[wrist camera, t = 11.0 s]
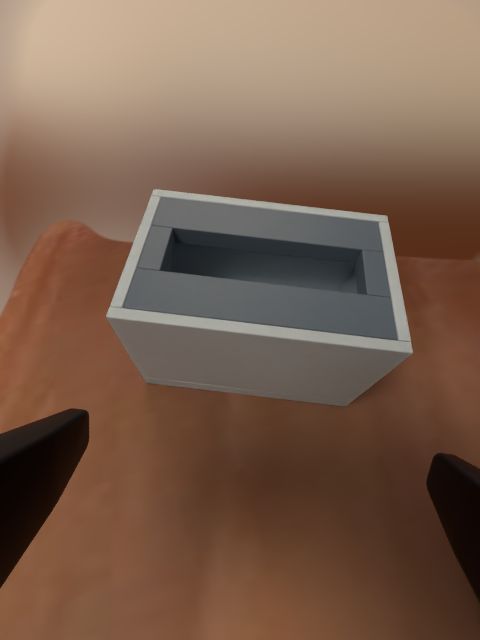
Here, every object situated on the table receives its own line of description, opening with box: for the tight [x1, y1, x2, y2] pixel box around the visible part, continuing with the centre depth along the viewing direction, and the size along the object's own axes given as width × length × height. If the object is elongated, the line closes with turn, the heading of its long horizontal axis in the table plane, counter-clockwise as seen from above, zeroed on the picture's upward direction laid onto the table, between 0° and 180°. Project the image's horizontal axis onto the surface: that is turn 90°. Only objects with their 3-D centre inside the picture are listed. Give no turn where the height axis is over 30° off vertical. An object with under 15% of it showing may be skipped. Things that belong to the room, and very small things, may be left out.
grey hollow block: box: [106, 189, 413, 407], centre depth 20 cm, size 9×14×9 cm
